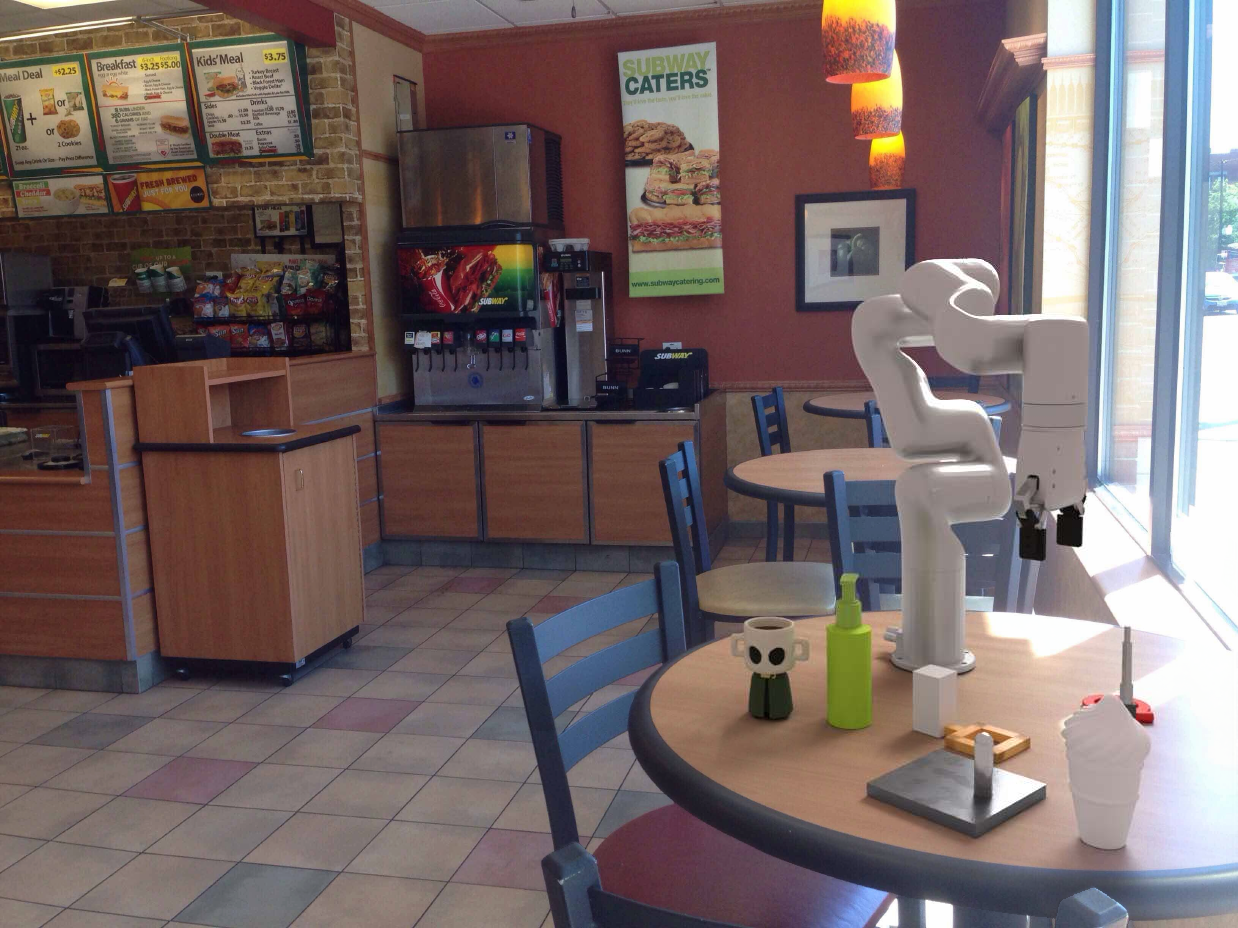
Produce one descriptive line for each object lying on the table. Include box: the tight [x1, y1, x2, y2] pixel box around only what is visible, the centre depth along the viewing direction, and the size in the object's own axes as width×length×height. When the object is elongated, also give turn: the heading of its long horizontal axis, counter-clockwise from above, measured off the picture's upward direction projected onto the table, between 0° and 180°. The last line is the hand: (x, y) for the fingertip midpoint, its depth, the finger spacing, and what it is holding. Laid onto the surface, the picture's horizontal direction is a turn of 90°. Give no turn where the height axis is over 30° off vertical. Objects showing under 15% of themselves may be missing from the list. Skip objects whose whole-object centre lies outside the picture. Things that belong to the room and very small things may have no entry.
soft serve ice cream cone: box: [1060, 692, 1152, 850], centre depth 108 cm, size 8×8×16 cm
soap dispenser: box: [825, 572, 873, 730], centre depth 143 cm, size 6×7×20 cm
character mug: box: [730, 616, 810, 719], centre depth 147 cm, size 11×7×13 cm, turn 72°
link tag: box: [912, 664, 1031, 764], centre depth 136 cm, size 13×7×8 cm, turn 39°
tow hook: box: [1081, 625, 1155, 723], centre depth 143 cm, size 8×13×9 cm
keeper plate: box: [866, 732, 1047, 839], centre depth 120 cm, size 14×14×8 cm
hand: (1051, 552), depth 134 cm, fingers open, 9 cm apart
